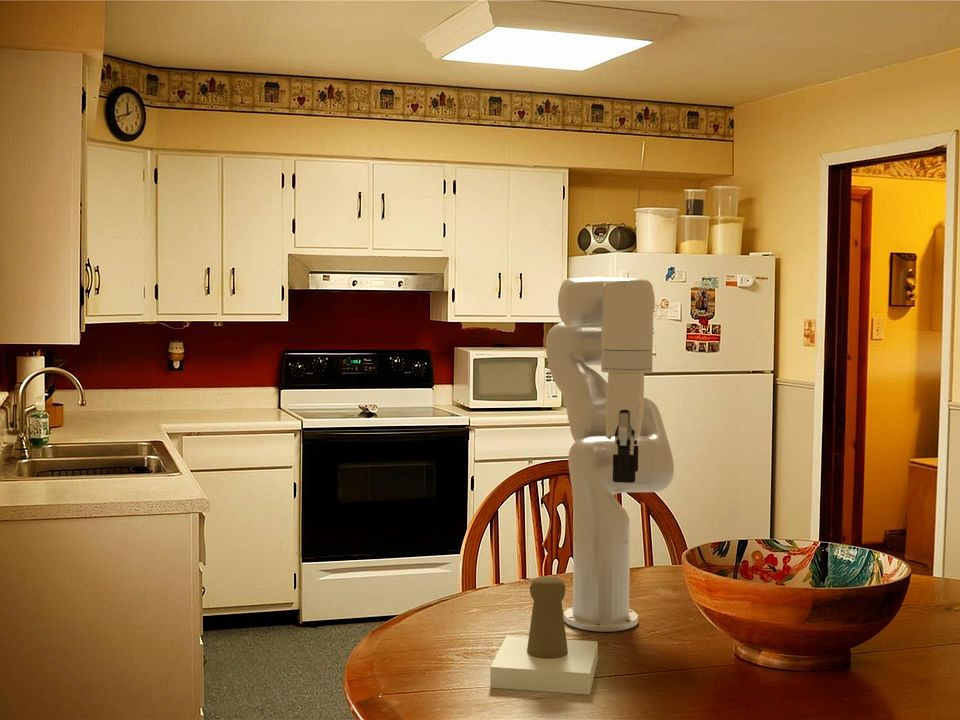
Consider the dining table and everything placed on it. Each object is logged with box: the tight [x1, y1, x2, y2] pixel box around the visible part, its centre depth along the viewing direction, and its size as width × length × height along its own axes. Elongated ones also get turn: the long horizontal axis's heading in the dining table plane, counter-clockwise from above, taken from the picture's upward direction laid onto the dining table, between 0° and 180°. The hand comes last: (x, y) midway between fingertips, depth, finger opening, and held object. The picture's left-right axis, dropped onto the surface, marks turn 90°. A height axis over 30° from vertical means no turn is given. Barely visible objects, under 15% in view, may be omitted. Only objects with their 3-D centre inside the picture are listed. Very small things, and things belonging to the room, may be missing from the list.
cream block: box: [489, 635, 599, 695], centre depth 156 cm, size 14×14×3 cm
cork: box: [527, 575, 568, 659], centre depth 156 cm, size 6×6×11 cm
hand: (625, 476), depth 159 cm, fingers open, 9 cm apart
